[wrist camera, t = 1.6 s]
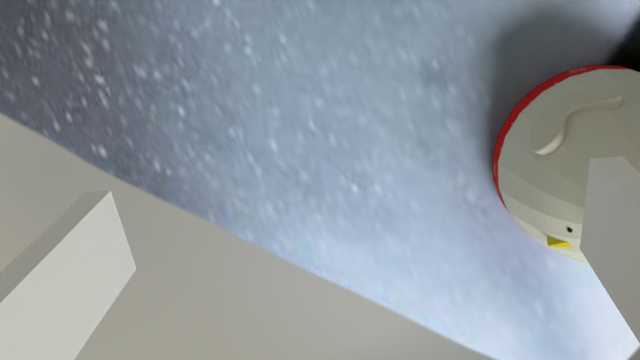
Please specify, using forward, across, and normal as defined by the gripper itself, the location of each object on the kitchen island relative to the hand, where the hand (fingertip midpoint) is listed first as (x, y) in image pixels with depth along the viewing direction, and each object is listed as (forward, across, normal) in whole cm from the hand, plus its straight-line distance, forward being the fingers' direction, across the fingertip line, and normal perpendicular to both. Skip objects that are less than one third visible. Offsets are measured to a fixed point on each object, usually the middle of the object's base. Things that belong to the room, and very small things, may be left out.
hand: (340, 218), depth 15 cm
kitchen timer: (+25, +16, -10) cm, 32 cm away
